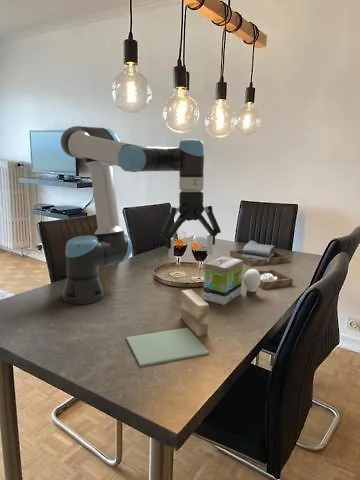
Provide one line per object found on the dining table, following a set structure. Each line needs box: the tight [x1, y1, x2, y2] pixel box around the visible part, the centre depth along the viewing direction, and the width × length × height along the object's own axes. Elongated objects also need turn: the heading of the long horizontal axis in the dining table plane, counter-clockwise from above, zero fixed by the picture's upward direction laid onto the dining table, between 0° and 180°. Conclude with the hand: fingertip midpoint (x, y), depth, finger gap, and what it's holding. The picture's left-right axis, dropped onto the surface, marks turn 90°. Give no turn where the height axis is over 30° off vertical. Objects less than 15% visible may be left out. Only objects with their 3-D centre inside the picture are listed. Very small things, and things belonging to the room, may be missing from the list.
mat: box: [125, 327, 210, 367], centre depth 109 cm, size 20×16×1 cm
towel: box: [242, 239, 276, 262], centre depth 204 cm, size 15×18×8 cm
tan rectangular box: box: [180, 289, 210, 337], centre depth 122 cm, size 4×14×10 cm, turn 21°
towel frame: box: [229, 249, 290, 267], centre depth 204 cm, size 24×21×3 cm
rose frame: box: [244, 268, 293, 290], centre depth 167 cm, size 15×15×3 cm
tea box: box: [202, 255, 244, 306], centre depth 147 cm, size 15×10×15 cm
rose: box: [261, 273, 278, 281], centre depth 166 cm, size 10×4×10 cm
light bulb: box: [243, 268, 261, 298], centre depth 150 cm, size 7×7×11 cm
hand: (190, 256), depth 121 cm, fingers open, 13 cm apart
